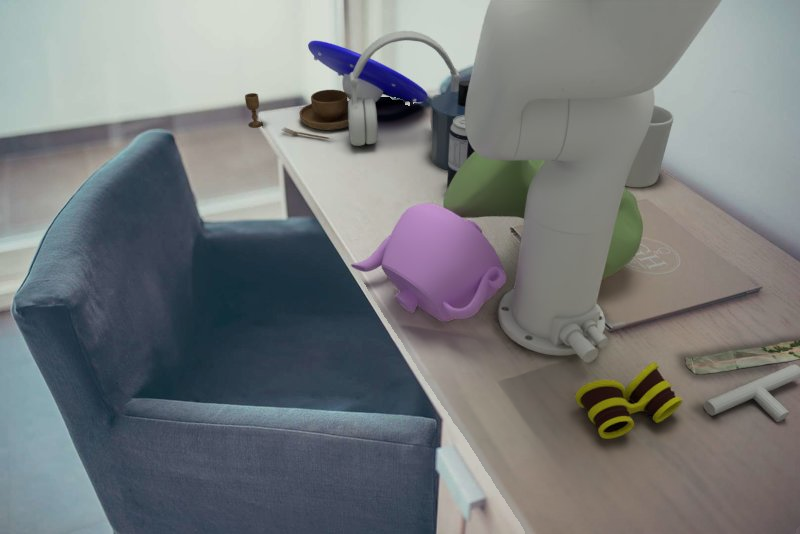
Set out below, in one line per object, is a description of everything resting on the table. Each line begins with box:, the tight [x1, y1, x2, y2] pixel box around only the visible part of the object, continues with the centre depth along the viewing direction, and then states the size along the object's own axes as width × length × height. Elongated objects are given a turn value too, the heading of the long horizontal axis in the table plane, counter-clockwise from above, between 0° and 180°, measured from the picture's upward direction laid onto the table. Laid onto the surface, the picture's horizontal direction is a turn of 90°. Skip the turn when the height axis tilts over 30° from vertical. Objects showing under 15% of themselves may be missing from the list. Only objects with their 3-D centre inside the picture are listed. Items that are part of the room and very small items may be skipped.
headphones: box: [348, 30, 462, 147], centre depth 112 cm, size 20×8×19 cm, turn 97°
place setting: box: [244, 89, 349, 140], centre depth 125 cm, size 18×20×6 cm
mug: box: [625, 104, 674, 188], centre depth 104 cm, size 12×8×11 cm
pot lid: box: [430, 80, 470, 119], centre depth 106 cm, size 11×11×5 cm
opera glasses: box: [574, 362, 683, 440], centre depth 65 cm, size 10×5×5 cm, turn 111°
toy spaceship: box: [307, 40, 429, 104], centre depth 125 cm, size 25×25×7 cm
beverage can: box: [446, 115, 475, 189], centre depth 100 cm, size 6×6×12 cm
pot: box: [430, 110, 454, 171], centre depth 110 cm, size 10×10×10 cm
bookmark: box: [684, 339, 800, 375], centre depth 73 cm, size 3×21×1 cm, turn 101°
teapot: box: [350, 202, 507, 322], centre depth 77 cm, size 20×13×12 cm
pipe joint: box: [703, 363, 800, 423], centre depth 66 cm, size 12×2×4 cm
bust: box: [442, 151, 644, 280], centre depth 81 cm, size 14×15×25 cm
